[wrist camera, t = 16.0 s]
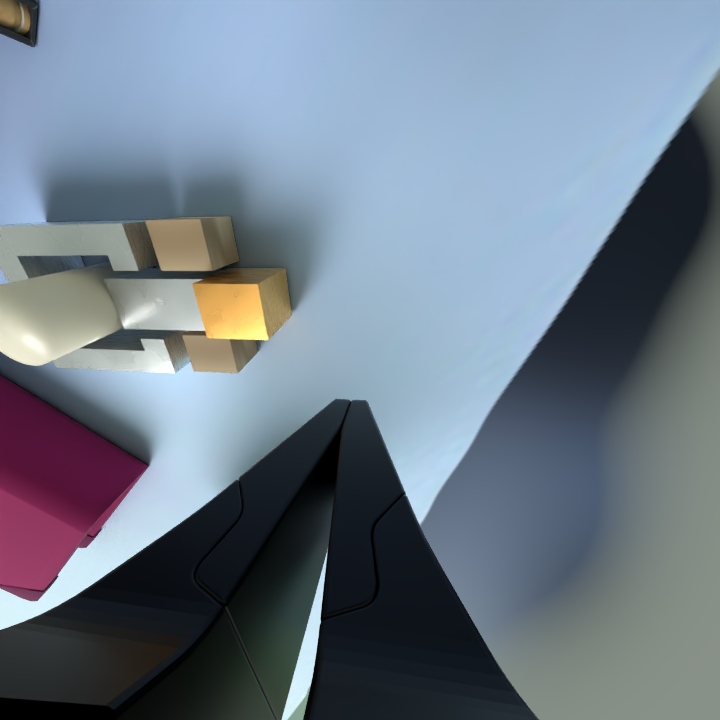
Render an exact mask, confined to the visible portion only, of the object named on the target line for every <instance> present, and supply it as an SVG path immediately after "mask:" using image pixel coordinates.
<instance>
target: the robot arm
mask: <svg viewBox="0 0 720 720" xmlns="http://www.w3.org/2000/svg"><path fill="white" fill-rule="evenodd" d="M327 549H328V554H327V564H326V573H325V582H324V591H323V601H322V610H321V624H320V629H319V638H318V646H317V653H316V659H315V666H314V672H313V678H312V683H311V687H310V692H309V696H308V701H307V705H306V710H305V715H304V719H303V720H539V719H538V718H537V717H536V716H535V714H534V713H533V712H532V711H531V710H530V708H529V707H528V706H527V704H526V703H525V702H524V701H523V699H522V698H521V697H520V696H519V694H518V693H517V691H516V690H515V689H514V687H513V686H512V684H511V683H510V682H509V680H508V679H507V677H506V675H505V674H504V672H503V671H502V669H501V668H500V666H499V665H498V663H497V662H496V660H495V658H494V657H493V655H492V653H491V652H490V650H489V649H488V647H487V645H486V643H485V642H484V640H483V638H482V636H481V635H480V633H479V631H478V630H477V628H476V626H475V624H474V623H473V621H472V619H471V617H470V616H469V614H468V612H467V610H466V609H465V607H464V605H463V604H462V602H461V600H460V598H459V597H458V595H457V593H456V591H455V590H454V588H453V586H452V584H451V583H450V581H449V579H448V578H447V576H446V574H445V572H444V571H443V569H442V567H441V565H440V564H439V562H438V560H437V558H436V556H435V554H434V553H433V551H432V549H431V547H430V545H429V543H428V541H427V540H426V538H425V536H424V534H423V532H422V529H421V527H420V525H419V523H418V521H417V518H416V516H415V514H414V512H413V510H412V507H411V505H410V502H409V500H408V498H407V496H406V494H405V491H404V488H403V486H402V484H401V481H400V479H399V476H398V474H397V472H396V469H395V467H394V464H393V462H392V460H391V457H390V455H389V452H388V450H387V447H386V445H385V443H384V440H383V438H382V435H381V433H380V431H379V428H378V426H377V423H376V421H375V419H374V416H373V414H372V411H371V409H370V407H369V404H368V402H367V401H365V400H352V401H350V400H346V399H335V400H334V401H332V402H331V403H330V404H329V405H328V406H326V407H325V408H324V409H323V410H321V411H320V412H319V413H318V414H317V415H315V416H314V417H313V418H312V419H310V420H309V421H308V422H307V423H306V424H304V425H303V426H302V427H301V428H299V429H298V430H297V431H296V432H294V433H293V434H292V435H291V436H290V437H288V438H287V439H286V440H285V441H283V442H282V443H281V444H280V445H279V446H277V447H276V448H275V449H274V450H272V451H271V452H270V453H269V454H268V455H266V456H265V457H264V458H263V459H261V460H260V461H259V462H258V463H257V464H255V465H254V466H253V467H252V468H250V469H249V470H248V471H247V472H246V473H244V474H243V475H242V476H241V477H240V478H239V480H236V481H234V482H233V483H232V484H231V485H229V486H228V487H227V488H226V489H225V490H223V491H222V492H221V493H220V494H218V495H217V496H216V497H214V498H213V499H212V500H211V501H209V502H208V503H207V504H205V505H204V506H203V507H202V508H200V509H199V510H198V511H196V512H195V513H194V514H192V515H191V516H189V517H188V518H187V519H185V520H184V521H183V522H181V523H180V524H178V525H177V526H176V527H174V528H173V529H171V530H170V531H169V532H167V533H166V534H164V535H163V536H161V537H160V538H159V539H157V540H156V541H154V542H153V543H151V544H150V545H149V546H147V547H146V548H144V549H143V550H141V551H140V552H138V553H137V554H136V555H134V556H133V557H131V558H130V559H128V560H127V561H126V562H124V563H123V564H121V565H120V566H118V567H117V568H115V569H114V570H113V571H111V572H110V573H108V574H107V575H105V576H104V577H103V578H101V579H100V580H98V581H97V582H95V583H94V584H92V585H91V586H89V587H88V588H86V589H85V590H83V591H82V592H80V593H79V594H77V595H76V596H74V597H72V598H71V599H69V600H67V601H65V602H64V603H62V604H60V605H59V606H57V607H55V608H53V609H51V610H49V611H47V612H45V613H43V614H41V615H38V616H36V617H34V618H31V619H29V620H27V621H24V622H22V623H19V624H16V625H13V626H11V627H8V628H5V629H2V630H0V720H281V719H282V716H283V712H284V708H285V704H286V701H287V697H288V693H289V690H290V686H291V682H292V679H293V675H294V671H295V667H296V664H297V660H298V656H299V653H300V649H301V645H302V642H303V638H304V634H305V631H306V627H307V623H308V619H309V616H310V612H311V608H312V605H313V601H314V597H315V594H316V590H317V586H318V582H319V579H320V575H321V571H322V568H323V564H324V560H325V557H326V553H327Z"/></svg>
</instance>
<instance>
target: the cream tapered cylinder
mask: <svg viewBox="0 0 720 720" xmlns="http://www.w3.org/2000/svg"><path fill="white" fill-rule="evenodd" d="M128 272H131V271H113V268H112V266H111V263H110V262H105V263H101V264H96V265H91V266H87V267H82V268H77V269H72V270H68V271H63V272H58V273H53V274H49V275H44V276H39V277H35V278H30V279H25V280H20V281H16V282H11V283H6V284H2V285H0V352H2V353H3V354H5V355H6V356H8V357H10V358H12V359H14V360H16V361H18V362H20V363H23V364H27V365H34V366H39V365H43V364H46V363H48V362H50V361H53V360H55V359H57V358H59V357H61V356H63V355H66V354H68V353H70V352H72V351H74V350H77V349H79V348H81V347H83V346H85V345H87V344H90V343H92V342H94V341H96V340H98V339H101V338H103V337H105V336H107V335H109V334H111V333H114V332H116V331H118V330H120V329H122V328H124V326H123V324H122V321H121V319H120V317H119V314H118V312H117V309H116V307H115V305H114V302H113V300H112V297H111V295H110V292H109V290H108V288H107V285H106V283H105V280H104V279H105V278H109V277H113V276H116V275H120V274H124V273H128Z"/></svg>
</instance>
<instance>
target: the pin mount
mask: <svg viewBox="0 0 720 720" xmlns="http://www.w3.org/2000/svg"><path fill="white" fill-rule="evenodd" d="M145 222H146V225H147V228H148V231H149V234H150V237H151V240H152V243H153V247H154V250H155V253H156V256H157V259H158V262H159V265H160V268H161V271H213V270H216V269H219V268H221V267H224V266H227V265H229V264H232V263H235V262H237V261H239V256H238V251H237V246H236V241H235V236H234V232H233V227H232V222H231V217H230V216H214V217H180V218H167V219H155V220H145ZM182 336H183V340H184V343H185V346H186V349H187V352H188V355H189V358H190V361H191V364H192V367H193V370H194V371H200V372H222V373H238V372H239V371H240V370H241V369H242V368H243V367H244V366H245V365H246V364H247V363H248V362H249V361H250V360H251V359H252V358H253V357H254V356H255V355H256V354H257V353H258V350H257V345H256V340H249V339H216V338H207V335H206V332H205V331H188V332H187V333H185V334H183V335H182Z"/></svg>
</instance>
